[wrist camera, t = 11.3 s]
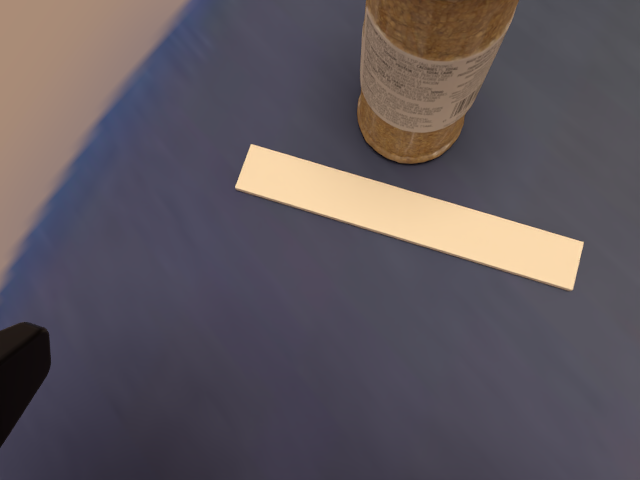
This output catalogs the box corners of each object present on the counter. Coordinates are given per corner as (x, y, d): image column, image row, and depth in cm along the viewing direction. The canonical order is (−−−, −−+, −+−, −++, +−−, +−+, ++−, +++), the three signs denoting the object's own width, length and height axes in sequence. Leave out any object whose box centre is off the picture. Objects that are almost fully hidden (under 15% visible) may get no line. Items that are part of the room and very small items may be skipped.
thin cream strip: (569, 291, 24) (572, 290, 23) (236, 189, 25) (235, 187, 25) (580, 243, 24) (583, 242, 24) (252, 146, 25) (251, 143, 25)
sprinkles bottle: (413, 49, 26) (482, -279, 13) (485, 122, 25) (637, -152, 12) (333, 113, 26) (323, -164, 13) (404, 190, 25) (473, -21, 12)
